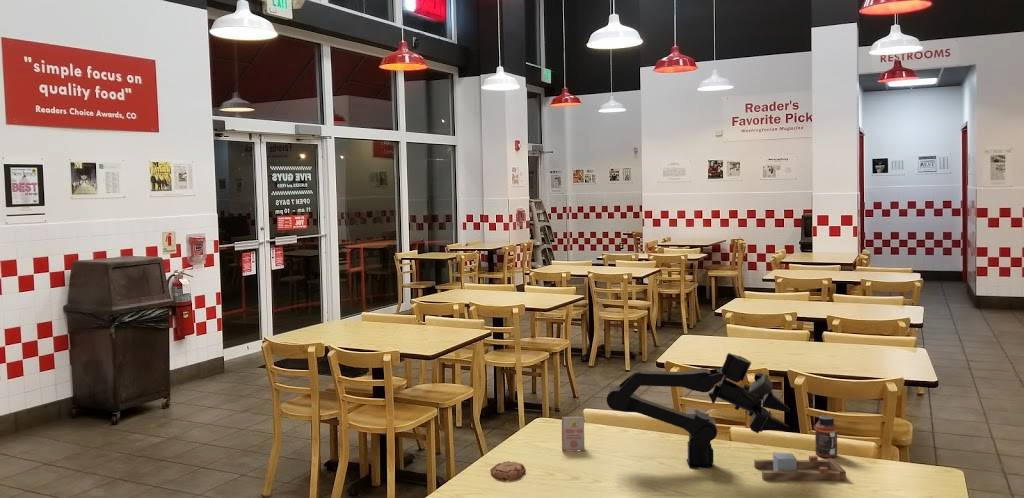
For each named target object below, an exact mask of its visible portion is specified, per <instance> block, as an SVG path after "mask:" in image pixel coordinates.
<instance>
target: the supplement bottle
mask: <svg viewBox="0 0 1024 498" xmlns="http://www.w3.org/2000/svg"><path fill="white" fill-rule="evenodd" d="M834 419H835V418H834V417H833V416H830V415H820V416H818V422H817V423H816V424H815V432H814V433H815V437H814V438H815V450H814V451H815V454H816V456H817V457H818V456H819V457H821V458H825V459H827V458H833V459H834V458H836V457H837V455H838V426H837V425H836V424H835V420H834Z"/></svg>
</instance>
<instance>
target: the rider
mask: <svg viewBox="0 0 1024 498" xmlns="http://www.w3.org/2000/svg"><path fill="white" fill-rule="evenodd" d="M772 460H773V468H772V471H798V470H797V460H798V459H797V458H796V456H795V455H794V454H793V452H772Z"/></svg>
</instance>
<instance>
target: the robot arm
mask: <svg viewBox="0 0 1024 498" xmlns="http://www.w3.org/2000/svg"><path fill="white" fill-rule="evenodd" d="M751 365H752V361H750V360H748V359H747V358H745V357H743V356H741V355H737V354H733V353H731V352H728V353H726V357H725V360H724V362H723V365H722V366H721V367H718V368H713V369H708V368H705V367H703V368H702V367H701V368H694V369H689V370H685V371H661V370H660V371H659V370H658V371H657V370H655V371H654V370H653V371H652V370H650V371H649V370H640V369H636V370H633V372H632V373H631V374H630V375H629V376H628V377H627V378H626V379H624V380H623V381H622V382H621V383H620V384H618V385H615V386H613V387H611V388H610V389H609V391H608V393H607V396H606V403H607V406H608V407H609V408H610V409H611V410H613V411H617V412H624V413H637V414H640V415H643V416H646V417H649V418H652V419H654V420H658V421H661V422H664V423H666V424H670V425H672V426H675V427H678V428H681V429H683V430H684V431H686V432H687V433H688V441H687V459H686V462H687V465H688V467H689V468H691V469H692V468H693V469H694V468H695V469H696V468H697V469H698V468H701V469H704V468H706V469H711V468H714V466H713V464H714V449H713V447H712V443H711V442H712V441H714V439H716V437H717V435H718V427H717V422H716V421H715V419H714V418H713V417H712V416H710V414H709V413H707V412H706V413H705V412H701V411H700V410H697V409H694V413H686V412H682V411H679V410H677V409H673V408H671V407H668V406H665V405H662V404H659V403H657V402H653V401H650V400H647V399H645V398H643V397H642V398H641V397H640V396H638V395H637V394H635V392H636V391H637V390H638V389H639V388H640V387H641V386H642V387H643V386H644V387H645V386H647V387H671V388H673V387H676V388H680V387H681V388H685V389H688V390H691V391H693V392H694V391H695V392H700V393H708V397H710V398H709V399H710V400H711V403H712V404H715V403H716V401H717V399H720V400H722V401H723V402H726V403H729V404H731V405H733V406H734V409H735V411H739V409H741V410H744V411H745V412H748V416H749V417H751V418H750V422H749V429H750V431H752V432H753V433H756V434H759V433H762V432H765V431H789V429H790V425H788V424H787V423H785V422H783V421H782V420H780V419H778V418H776V417H774V415H773V414H772V412H771V410H773V411H774V410H776V411H780V412H785V413H789V412H790V410H791V408H790V407H789V406H787V405H786V404H785V403H784V402H783V401H782V400H780V399H779V398H778V397H777V396H776V395H775V394H774V391H773V384H774V383H773V382H772V381H771V380H770V379H769V375H768V374H765V373H761V372H756V373H755V374H754V375H753V378H754V381H753V383H752V384H751V385H748V384H743V385H739V384H737V383H740V382H743V381H744V380H745V377H746V375H747V373H748V372H749V369H750V367H751ZM711 390H712V391H711ZM710 391H711V392H710ZM767 409H770V410H769V411H768V410H767Z"/></svg>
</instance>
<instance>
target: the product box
mask: <svg viewBox="0 0 1024 498" xmlns="http://www.w3.org/2000/svg"><path fill="white" fill-rule="evenodd" d="M562 450H584V451H585V417H584V416H561V451H562Z"/></svg>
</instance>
